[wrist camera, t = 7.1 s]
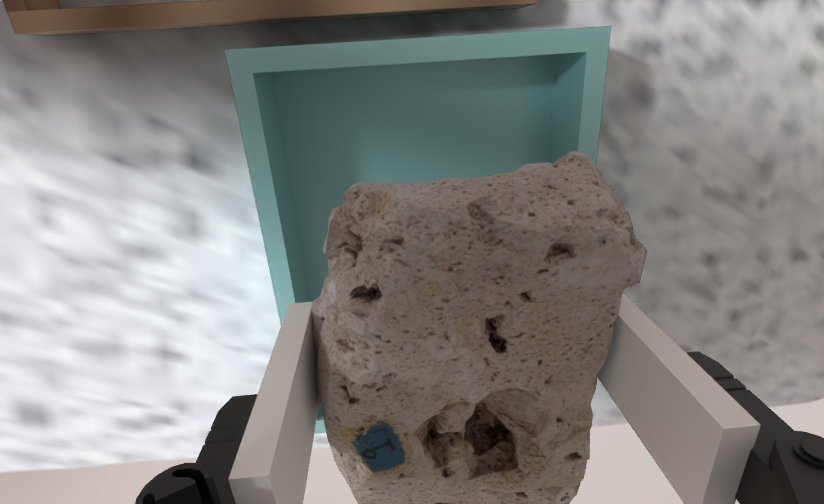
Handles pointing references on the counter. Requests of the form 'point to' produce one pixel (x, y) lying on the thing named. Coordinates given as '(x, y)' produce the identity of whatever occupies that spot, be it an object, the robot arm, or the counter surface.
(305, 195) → the teal dish
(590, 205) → the stone
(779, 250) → the counter surface
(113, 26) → the walnut frame
